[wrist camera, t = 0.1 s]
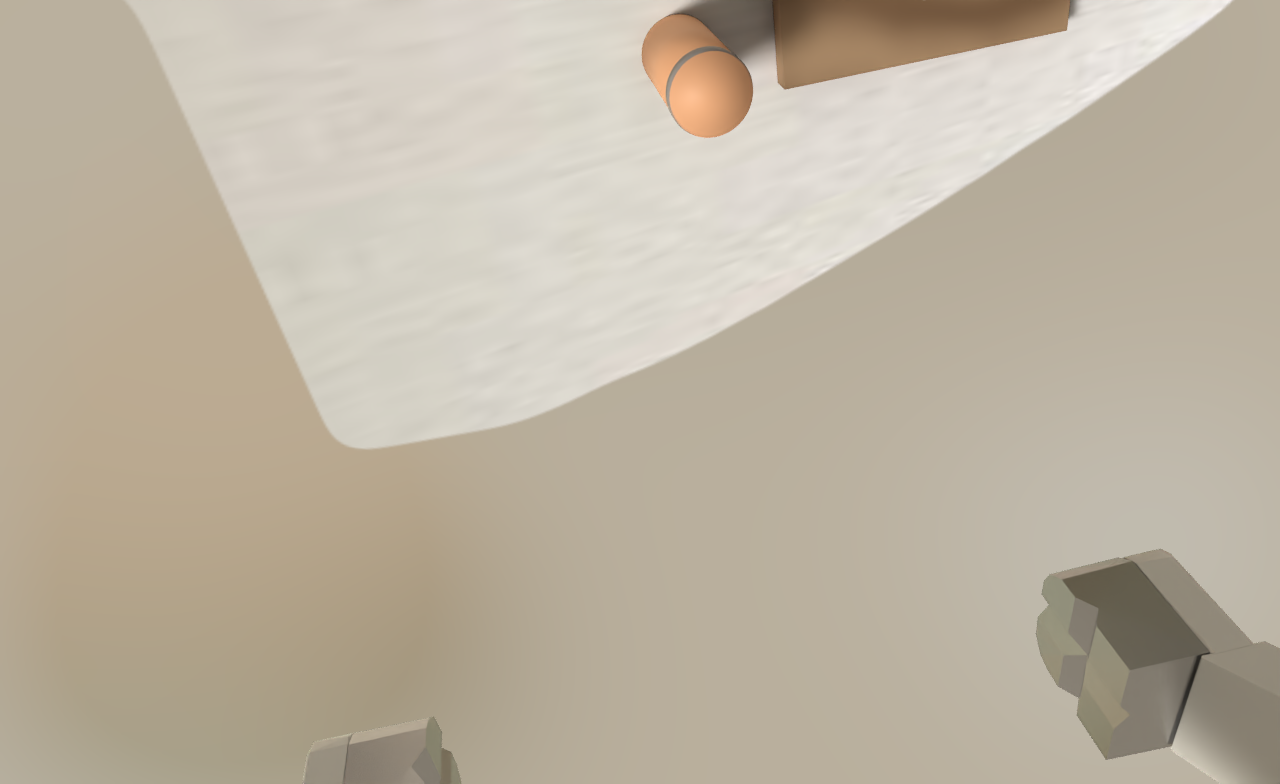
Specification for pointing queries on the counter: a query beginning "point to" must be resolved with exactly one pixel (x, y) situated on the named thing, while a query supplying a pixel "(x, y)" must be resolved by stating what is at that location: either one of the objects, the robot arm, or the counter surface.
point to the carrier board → (897, 32)
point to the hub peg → (697, 76)
